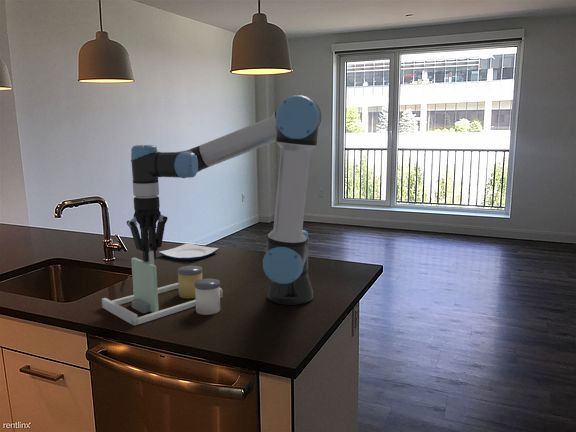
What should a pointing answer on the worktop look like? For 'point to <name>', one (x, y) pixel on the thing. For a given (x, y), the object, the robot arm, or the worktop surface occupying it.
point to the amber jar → (188, 280)
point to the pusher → (144, 286)
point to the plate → (189, 252)
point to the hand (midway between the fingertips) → (150, 270)
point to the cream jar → (207, 296)
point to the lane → (134, 320)
